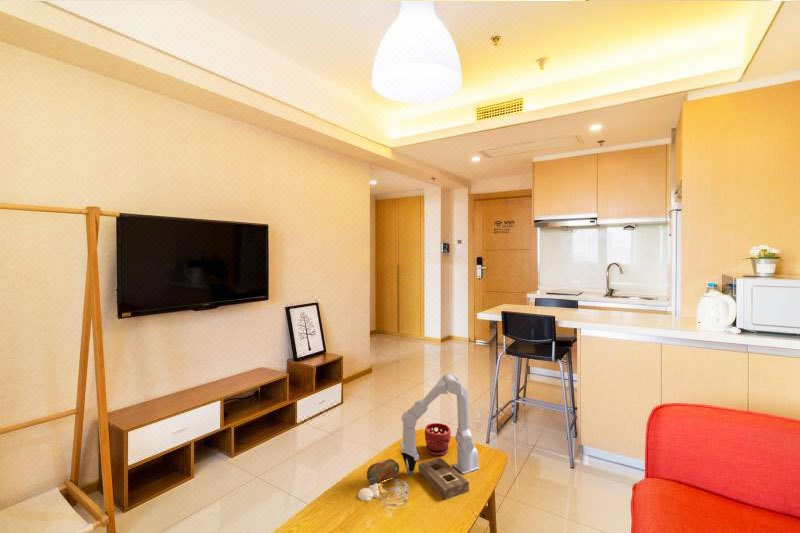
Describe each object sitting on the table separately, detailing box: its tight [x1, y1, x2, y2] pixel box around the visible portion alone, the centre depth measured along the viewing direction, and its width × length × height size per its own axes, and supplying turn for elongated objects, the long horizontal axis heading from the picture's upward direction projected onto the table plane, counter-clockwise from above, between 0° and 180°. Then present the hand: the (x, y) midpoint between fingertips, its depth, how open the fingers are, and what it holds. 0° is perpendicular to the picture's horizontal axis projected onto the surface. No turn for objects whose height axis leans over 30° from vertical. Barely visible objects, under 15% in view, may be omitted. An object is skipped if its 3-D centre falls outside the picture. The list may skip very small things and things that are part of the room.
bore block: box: [418, 457, 470, 500], centre depth 164 cm, size 12×22×4 cm, turn 26°
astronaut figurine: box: [357, 483, 380, 502], centre depth 156 cm, size 9×12×3 cm
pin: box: [405, 459, 414, 477], centre depth 170 cm, size 3×3×7 cm
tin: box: [366, 458, 400, 485], centre depth 165 cm, size 15×3×8 cm, turn 116°
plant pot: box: [424, 422, 451, 456], centre depth 189 cm, size 13×13×12 cm
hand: (409, 468), depth 170 cm, fingers closed on pin, 3 cm apart
